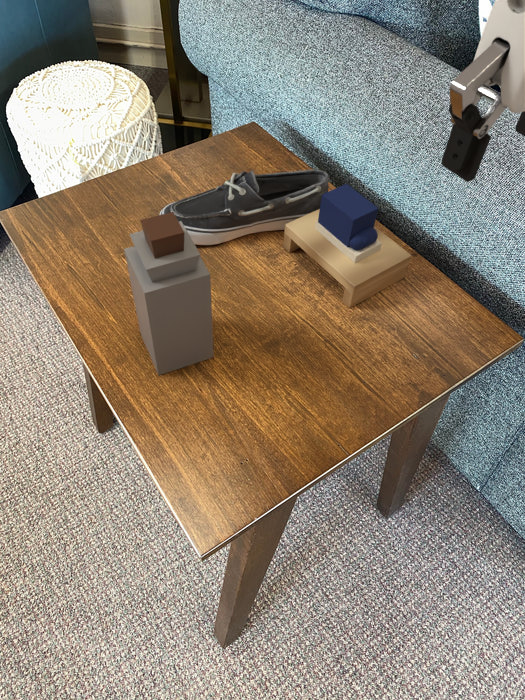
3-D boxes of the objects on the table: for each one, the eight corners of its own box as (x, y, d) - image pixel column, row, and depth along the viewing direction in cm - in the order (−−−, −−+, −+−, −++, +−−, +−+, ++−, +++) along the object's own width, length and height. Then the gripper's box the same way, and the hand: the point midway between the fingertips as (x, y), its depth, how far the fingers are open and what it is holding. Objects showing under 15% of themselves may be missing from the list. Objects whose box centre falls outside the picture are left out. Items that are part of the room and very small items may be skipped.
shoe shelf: (404, 277, 76) (412, 255, 73) (349, 308, 72) (354, 286, 69) (336, 221, 83) (340, 199, 80) (282, 246, 79) (285, 224, 76)
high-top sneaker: (314, 228, 76) (319, 193, 71) (339, 217, 77) (346, 182, 73) (354, 263, 72) (362, 228, 67) (380, 250, 74) (389, 215, 69)
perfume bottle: (140, 333, 68) (117, 213, 54) (193, 317, 70) (183, 197, 56) (158, 375, 65) (138, 258, 51) (213, 357, 67) (208, 239, 52)
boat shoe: (162, 251, 77) (156, 202, 71) (157, 211, 83) (151, 161, 76) (333, 235, 81) (342, 187, 75) (318, 198, 86) (325, 149, 80)
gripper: (562, -48, 30) (460, 212, 44) (721, -92, 37) (590, 145, 50) (456, -88, 34) (392, 164, 47) (618, -121, 41) (522, 107, 54)
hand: (494, 154), depth 49 cm, fingers open, 9 cm apart
